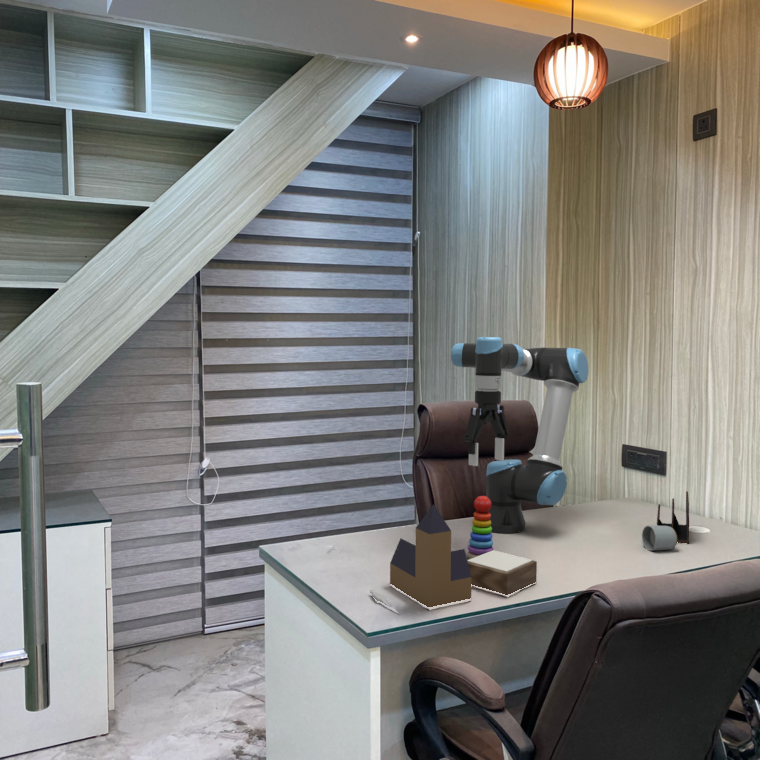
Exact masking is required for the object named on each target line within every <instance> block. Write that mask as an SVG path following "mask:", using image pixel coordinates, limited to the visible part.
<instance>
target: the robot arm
mask: <svg viewBox="0 0 760 760" xmlns="http://www.w3.org/2000/svg"><path fill="white" fill-rule="evenodd" d="M475 341H476V342H475V343H474V342H473V343H469V342H468V343H467V342H462V343H456V344H454V345H453V346H452V348H451V351H450V361H451V363H452V365H454V366H455V367H459V368H472V369H475V375H474V376H475V377H474V388H475V389H476V390H475V391H474V402H475V404H477V407H471V408H470V415H469V419H468V422H467V425H466V430H465V433H464V435H463V441H464V442H465V443H468V451H467V452H468V466H473V467H478V466H479V442H477V441H478V440H479V438H480V435H481V433H482V431H483V429H484V427H485V425H487V423H490V425H491V426H492V429H493V431H494V433H495V435H496V437H495V438H494V461H491V462H489V463H488V464H487V467H486V474H485V478H486V483H485V484H486V493H485V496H486V497H488V498H489V499H490V501H491V508H490V510H489V511H488V512H489V513H490V514H491V518H490V519H489V520H490V521H491V525H490V526H491V527H492V532H491V533H497V532H498V534H516V533H520V532H521V533H522V532H524V531H525V530H526V523H527V522H526V519H525V516H524V513H523V509H522V506H521V504H522V503H521V501H522V502H526V503H534V504H539V505H541V506H544V505H545V506H555V505H556V504H558V503H559V502H560V501H561V500H562V499H563V497H564V495H565V492H566V489H567V485H568V482H567V479H568V478H567V474H566V473H565V471H563V465H562V464H561V462H560V458H561V453H562V448H563V444H564V437H565V433H566V428H567V423H568V418H569V413H570V408H571V402H572V398H573V394H574V393H575V392H577V391H578V390H579V387H580V384H583V383H586V381H587V380H588V377H589V363H588V359H587V355H586V354H585V352H584V351H583V350H582V349H580V348H573V347H533V348H531V347H530V348H522V347H521V346H520V345H518V344H515V343H503V339H502V338H501V337H499V336H498V337H497V336H495V337H494V336H492V337H491V336H480V337H477V339H476V340H475ZM502 372H508V373H511V374H512V375H514V376H517V377H523V378H527V379H531V380H536V381H542V382H543V385H544V386H545V387H546V393H545V397H544V402H543V406H542V412H541V416H540V421H539V426H538V430H537V435H536V439H535V445H534V450H533V455H532V456H530V457H529V458H528V459H527V461H526V465H522V464H523V463H522V460H520V459H514V458H513V459H505V439H508V438H509V435H510V430H509V427H508V423H507V419H506V415H505V406H504V405H501V403H502V392H501V391H500V390H501V389H502ZM495 460H496V461H495Z"/></svg>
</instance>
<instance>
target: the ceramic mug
mask: <svg viewBox="0 0 760 760" xmlns="http://www.w3.org/2000/svg"><path fill="white" fill-rule="evenodd" d="M641 533H642V534H641V539H642V541H641V542H642V544H643V546H644V548H645V549H646V550H647V551H649V550H650V551H649V552H652V551H653V552H654V551H666V550H667V551H670V550H673V549H674V548H675V547H676V546H677V544H678V543H677V534H676V532H675V530H674V529H673V528H672V527H669V526H657V525H651V524H648V525H645V527H643V530H642V532H641Z"/></svg>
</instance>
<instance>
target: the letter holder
mask: <svg viewBox="0 0 760 760" xmlns="http://www.w3.org/2000/svg"><path fill="white" fill-rule="evenodd" d="M689 501H690V500H689V491H687V490H686V491H685V513H686V514H685V524H680V523H679V521H678V519H677V516H676V514H675V498H674V497H673V498H672V499H671V523H665V522H662V521H661V518H660V513H661V504H658V505H657V515H656V516H657V517H656V526H669V527H672V528H673V529H674V530H675V532H676V534H677V542H678V543H677V544H682V543H687V544H686V545H689V544H690V502H689Z"/></svg>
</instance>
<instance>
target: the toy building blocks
mask: <svg viewBox="0 0 760 760" xmlns="http://www.w3.org/2000/svg"><path fill="white" fill-rule="evenodd" d="M467 560H468V557H467V552H466V550H465V548H462V549H457V550H452V530H451V529H450V527H449V525H448V524H447V522H446V521H445V519H444V517H442V515H441V513H440V512H439V510H438V508H437V507H436V506H435V504H432V506H431V507H430V508H429V510H428V511H427V512H426V513H425V515H424V516H423V517H422V519H421V520H420V521H419V522H418V524H417V525H416V527H415V544H413V543H411V542H409V541H407V540H406V539H403V538H400V539H399V540H398V544H397V546H396V547H395V550H394V553H393V555H392V558H391V561H390V563H389V564H390V565H389V585H390V584H392V585H394V586H395V587H396V588H398V589H400V590H401V591H403V592H404V593H406V594H407V595H409V596H411V597H412V598H414V599H416V600H417V601H419V602H420V603H422V604H424V605H426V606H427V607H433V606H437V605H442V604H447V603H451V602H456V601H461V600H465V599H470V598H471V599H472V587H471V573H470V569H469V565H468V561H467Z"/></svg>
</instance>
